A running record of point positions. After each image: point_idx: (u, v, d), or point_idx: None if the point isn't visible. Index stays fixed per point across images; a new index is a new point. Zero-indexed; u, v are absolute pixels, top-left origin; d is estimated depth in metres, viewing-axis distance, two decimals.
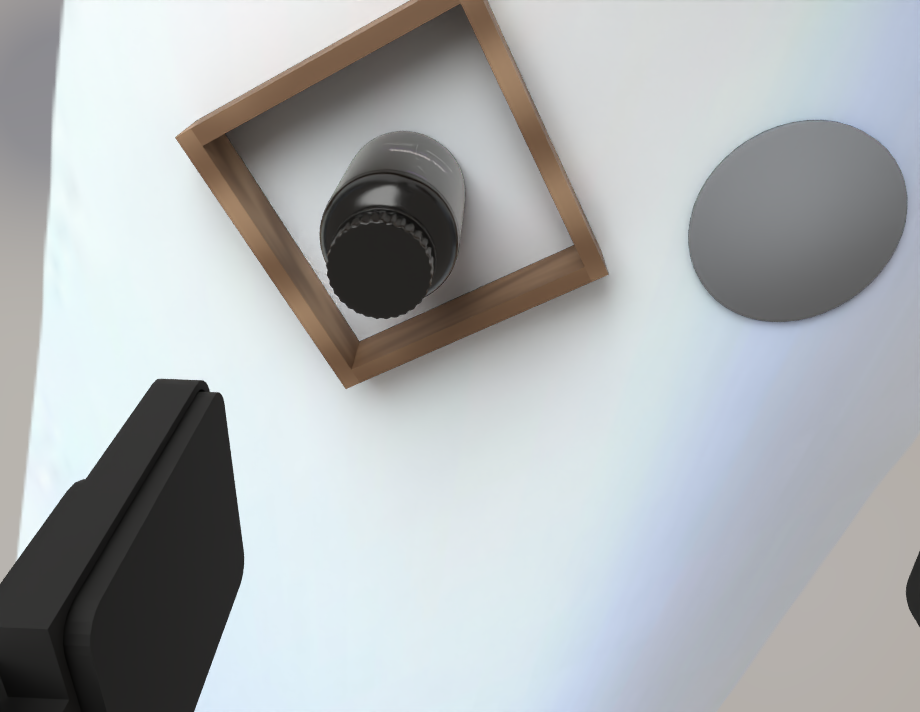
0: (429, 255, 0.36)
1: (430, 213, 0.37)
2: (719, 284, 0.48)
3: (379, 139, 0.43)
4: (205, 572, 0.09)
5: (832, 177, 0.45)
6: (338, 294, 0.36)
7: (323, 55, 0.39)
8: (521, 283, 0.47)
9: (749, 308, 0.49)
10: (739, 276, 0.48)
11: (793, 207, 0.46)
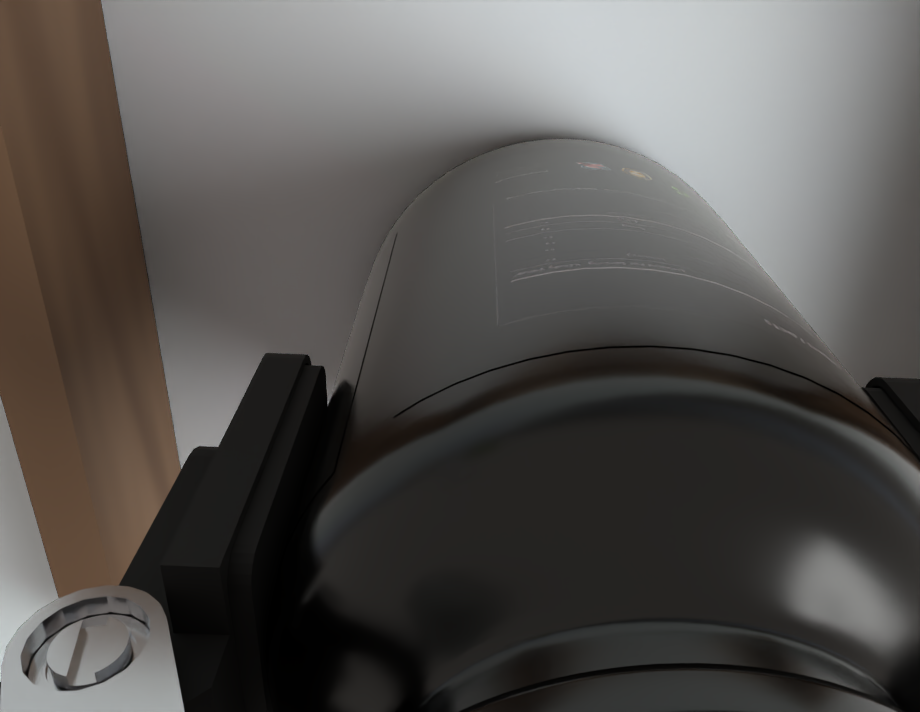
0: None
1: None
2: None
3: None
4: None
5: None
6: None
7: None
8: (142, 522, 0.15)
9: None
10: None
11: None
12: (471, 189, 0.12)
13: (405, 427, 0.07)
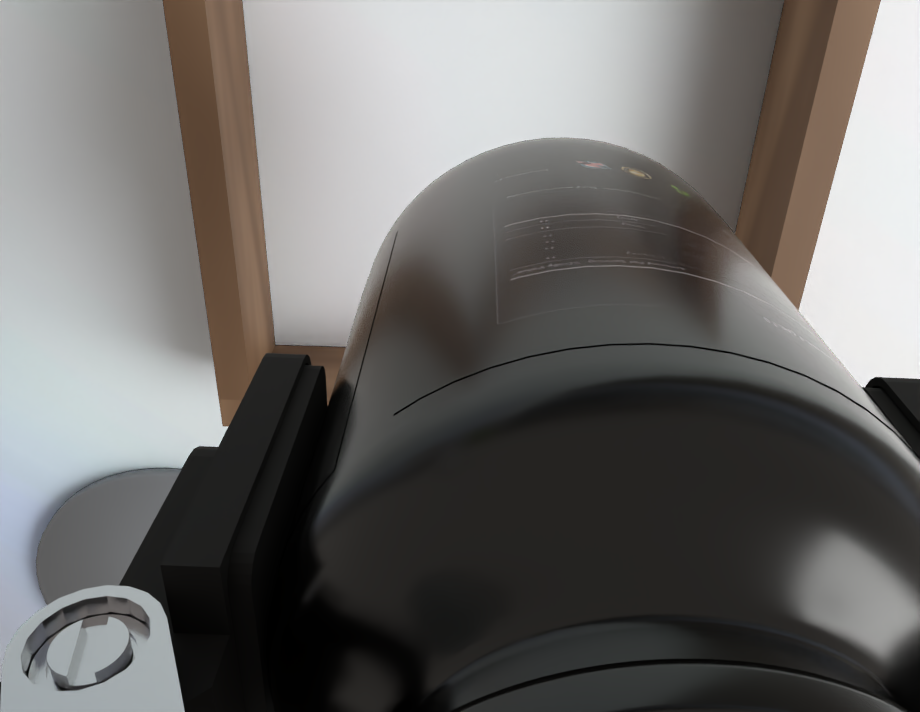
0: None
1: None
2: (130, 495, 0.31)
3: None
4: None
5: None
6: None
7: (826, 196, 0.21)
8: (250, 268, 0.24)
9: (75, 516, 0.31)
10: (135, 520, 0.31)
11: None
12: (471, 188, 0.12)
13: (405, 424, 0.07)
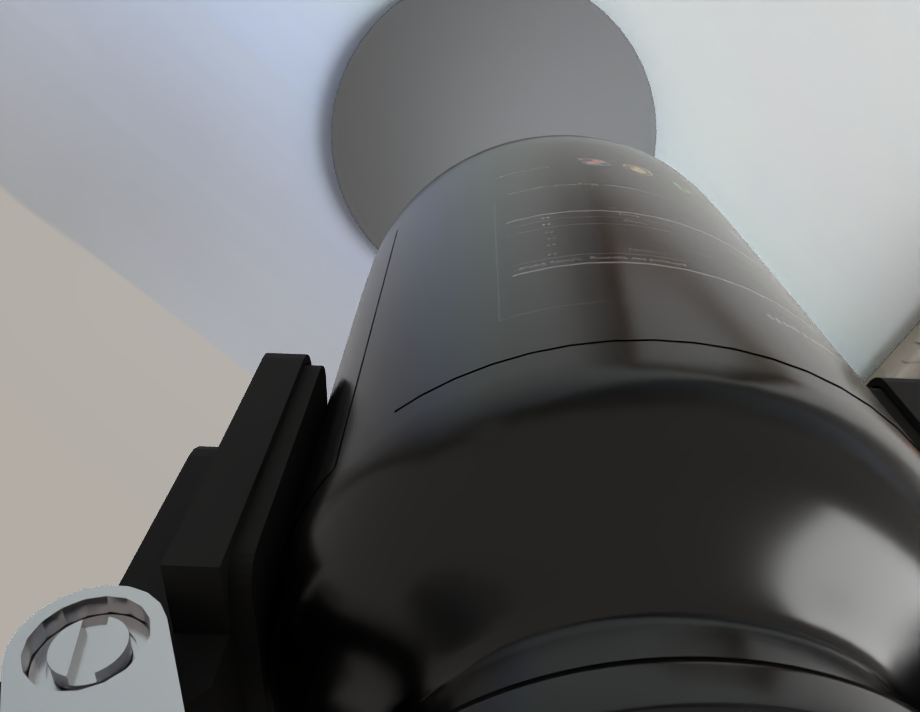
0: None
1: None
2: (455, 1, 0.28)
3: None
4: None
5: None
6: None
7: None
8: None
9: (389, 34, 0.28)
10: (455, 38, 0.28)
11: None
12: (471, 186, 0.12)
13: (407, 421, 0.07)
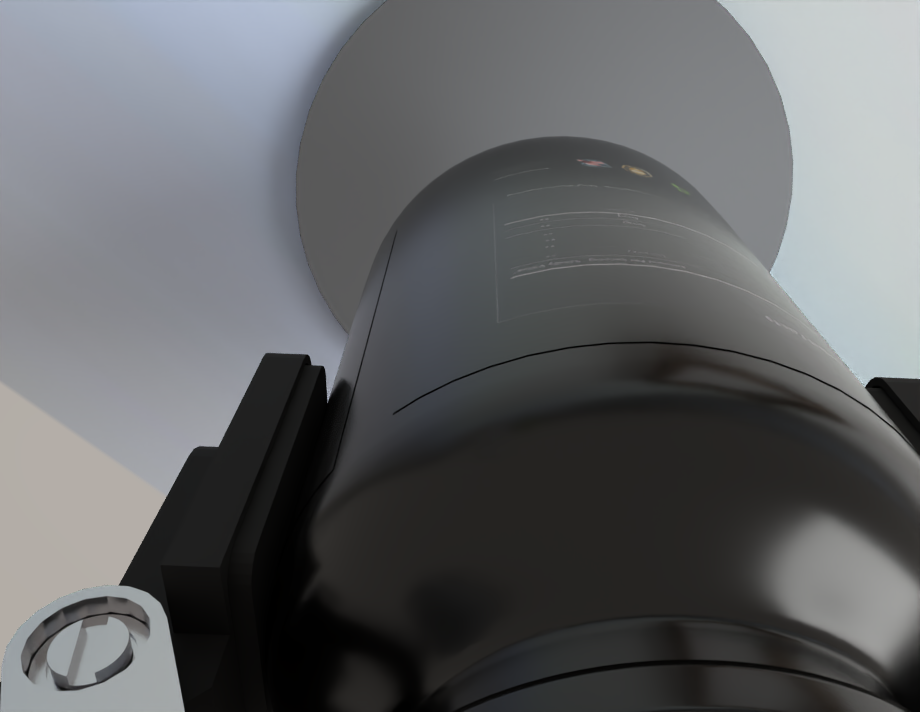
0: None
1: None
2: None
3: None
4: None
5: None
6: None
7: None
8: None
9: (386, 39, 0.18)
10: (489, 47, 0.18)
11: None
12: (471, 186, 0.12)
13: (405, 423, 0.07)
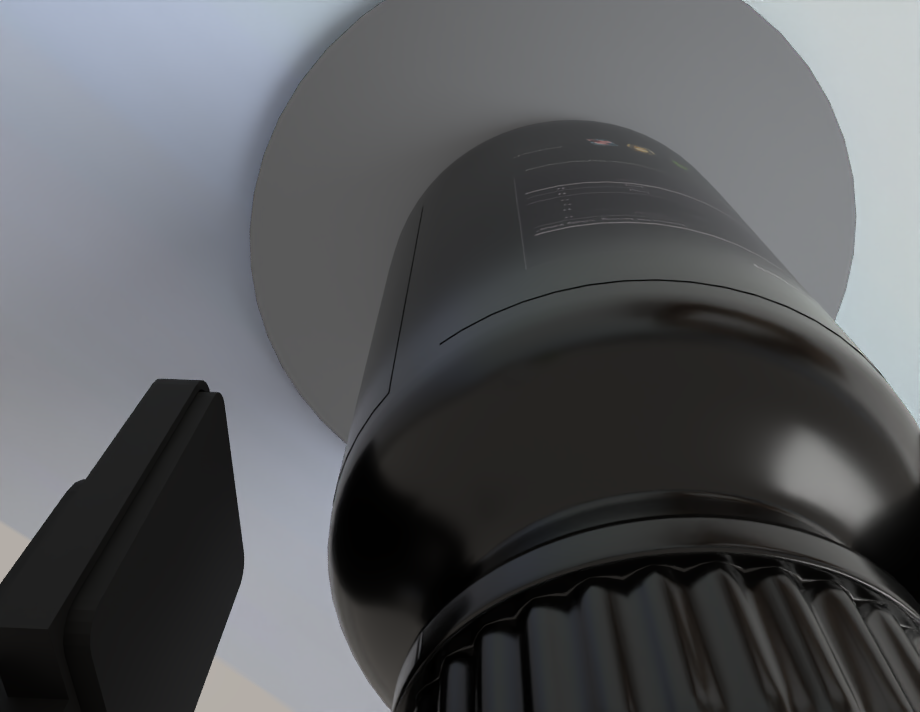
0: None
1: None
2: (487, 7, 0.14)
3: None
4: (205, 572, 0.09)
5: None
6: None
7: None
8: None
9: (356, 68, 0.14)
10: (484, 79, 0.14)
11: None
12: (491, 164, 0.13)
13: (451, 349, 0.08)
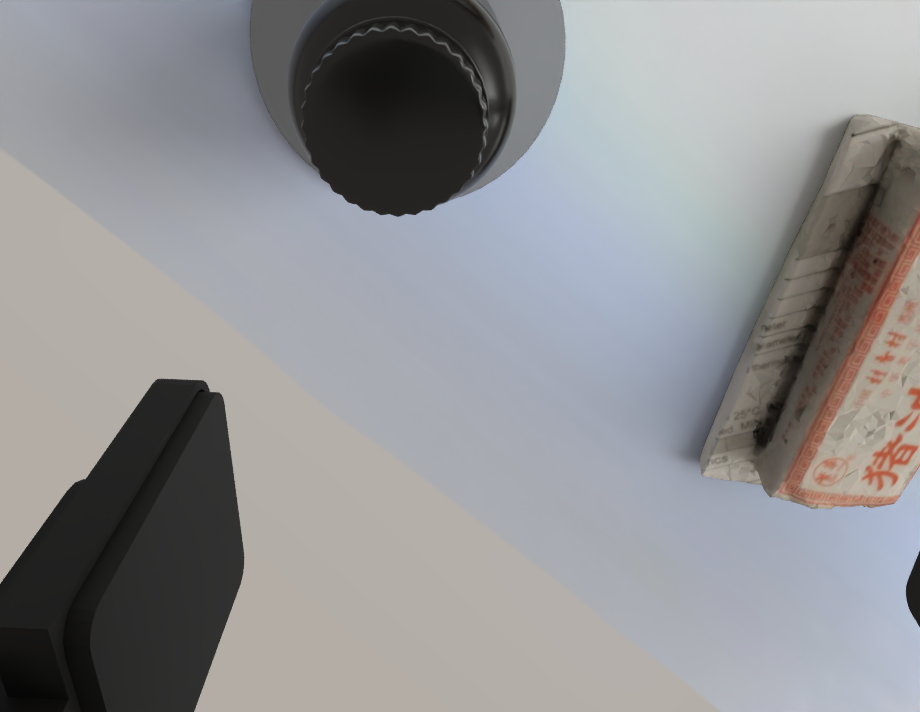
0: None
1: None
2: None
3: None
4: (205, 572, 0.09)
5: None
6: (385, 34, 0.19)
7: None
8: None
9: None
10: None
11: None
12: None
13: None
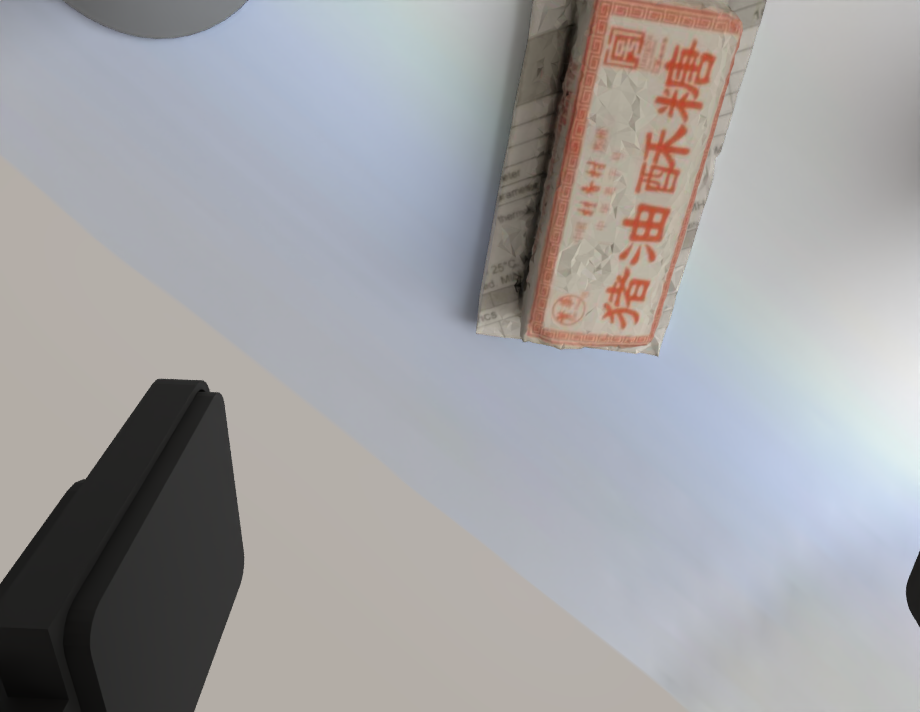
0: None
1: None
2: None
3: None
4: (205, 572, 0.09)
5: None
6: None
7: None
8: None
9: None
10: None
11: None
12: None
13: None
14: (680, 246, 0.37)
